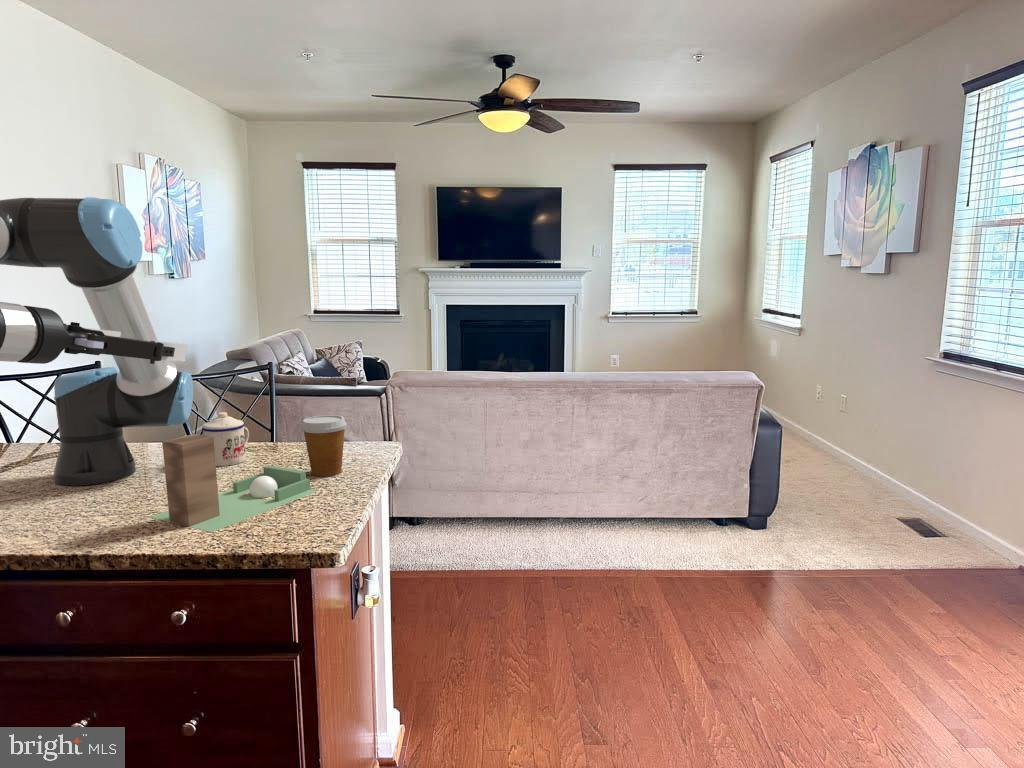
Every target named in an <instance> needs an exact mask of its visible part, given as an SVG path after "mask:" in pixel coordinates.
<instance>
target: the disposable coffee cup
mask: <svg viewBox="0 0 1024 768" xmlns="http://www.w3.org/2000/svg"><path fill="white" fill-rule="evenodd" d="M346 427H347V421H346V420H345V417H344V416H342V415H337V414H336V415H335V414H330V415H329V414H328V415H315V416H310V417H306V418H304V419H303V420H302V425H301V427H300V428H301V429H302V431H303V436H304V439H305V446H306V450H307V455H308V461H309V465H310V472H311V475H312V474H313V475H312V476H314V475H315V477H318V476H326V477H333V476H337V475H340V474H341V473H342V469H343V468H342V467H343V455H344V454H343V453H344V444H345V443H344V442H345V431H346V430H345V429H346ZM340 472H341V473H340ZM336 474H337V475H336ZM332 475H333V476H332Z"/></svg>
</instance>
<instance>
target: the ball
mask: <svg viewBox="0 0 1024 768" xmlns="http://www.w3.org/2000/svg"><path fill="white" fill-rule="evenodd" d="M276 489H279V487H278V486H277V483H276V481H275V480H274V479H273V478H271V477H269V476H260V477H257V478H256V479H255V480H254V481H253V482H252V483H251V485H250V492H249V494H250V497H253V498H258V499H264V498H272V497H273V496H274V497H275V494H274V490H276Z"/></svg>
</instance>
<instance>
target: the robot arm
mask: <svg viewBox="0 0 1024 768" xmlns="http://www.w3.org/2000/svg"><path fill="white" fill-rule="evenodd" d="M139 228H140V227H139V225H138V223H137V220H136V219H135V217H134V216H133V214H132V213H131V211H130V209H128V208H127V207H126V205H124V204H123V203H121V202H120V201H117V200H116V199H109V198H98V197H95V196H89V197H85V198H78V197H77V198H74V197H73V198H68V197H65V198H64V197H57V198H56V197H36V198H35V197H18V198H7V199H0V265H1V266H3V265H5V266H15V267H16V266H17V267H25V268H26V267H27V268H28V267H29V268H59V269H61V270H62V272H63V274H64V276H65V279H66V281H68V282H69V284H71V285H73V286H74V287H77V288H80V289H81V290H82V292H83V294H84V297H85V299H86V301H87V303H88V305H89V307H90V310H91V312H92V314H93V316H94V318H95V320H96V323H97V325H98V327H99V329H98V328H91V327H83V326H80V325H81V324H80V322H74V321H70V324H67V323H64V321H63V319H62V318H61V316H60V314H58V313H57V312H56V311H55V310H53V309H50V308H47V307H46V308H45V307H40V306H39V307H38V306H31V305H22V304H19V303H11V302H3V301H0V362H10V363H11V362H14V363H15V362H17V363H22V364H38V365H39V364H41V365H42V364H44V365H45V364H49V363H51V362H54V361H55V360H56V359H57V358H58V357H59V356H60V355H61V353H62V352H64V354H69V355H79V354H85V355H93V356H100V355H106V356H107V355H108V356H112V357H113V360H114V362H115V364H116V367H115V366H110V367H109V366H108V367H100V368H93V369H88V370H87V369H85V370H82V371H78V372H72V373H67V374H63V375H60V376H59V377H57V378H56V379H55V381H54V384H53V385H54V398H53V399H54V403H55V411H56V418H57V425H58V433H59V441H60V443H59V444H60V447H59V450H58V454H57V458H56V463H55V466H54V470H53V477H54V482H55V483H56V484H57V485H62V486H90V485H97V484H103V483H109V482H114V481H117V480H120V479H124V478H126V477H129V476H132V475H133V474H134V473H136V471H137V468H136V467H137V466H136V460H135V458H134V457H133V453H132V452H131V450H130V449H129V446H128V444H127V442H126V440H125V438H124V431H123V428H148V427H149V428H151V427H152V428H153V427H154V428H156V427H171V426H178V425H179V426H181V425H184V424H185V423H186V422H187V421H188V420H189V418H190V415H191V412H192V408H193V401H194V381H193V376H192V375H191V373H190V372H188V371H184V370H181V371H179V370H178V368H177V366H176V364H175V362H186V356H187V350H188V343H179V342H169V341H161V340H158V338H157V336H156V333H155V331H154V327H153V325H152V323H151V320H150V318H149V314H148V312H147V310H146V307H145V304H144V302H143V299H142V297H141V294H140V292H139V288H138V286H137V283H136V281H135V278H134V277H133V275H134V274H135V272H136V270H137V268H138V264H139V263H140V262H141V260H142V257H143V241H142V240H141V235H142V234H141V231H140V229H139ZM173 361H174V362H173ZM117 368H118V370H117Z"/></svg>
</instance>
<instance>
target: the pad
mask: <svg viewBox="0 0 1024 768" xmlns="http://www.w3.org/2000/svg"><path fill="white" fill-rule="evenodd" d="M262 468H263V472H261V473H257V474H255V475H252V476H249V477H246V478H242V479H239V480H236V481H234V482H232V487H233V488H231V489H228V490H226V491H222V492H220V493H219V492H218V499H219V511H220V516H217V517H215V518H212V519H209V520H206V521H204V522H201V523H198V524H196V525H193V526H190V527H188V526H186V527H188V528H193V529H197V530H201V531H205V532H209V533H215V532H217V531H219V530H221V529H225V528H227V527H229V526H232V525H235V524H237V523H240V522H242V521H245V520H247V519H250V518H253V517H255V516H257V515H260V514H264V513H266V512H269V511H270V510H273V509H276V508H277V507H280V506H281V507H282V506H283V505H286V504H289V503H291V502H293V501H296V500H298V499H299V500H300V499H302V498H304V497H306V496H309V495H312V494H314V493H317V492H318V490H317V489H316V490H315V489H311V479H309V478H307V473H306V471H305V470H300V469H295V468H287V467H281V466H275V465H265V466H263V467H262ZM260 476H269V477H271V478H273V479H274V480H275V481H276V483H277V486H278V489H276V490H274V494H275V495H274V497H273V498H272V497H271V498H269V499H264V498H254V497H252V496H249V495H248V496H247V495H246V494H250V485H251V483H252V482H253V481H254V480H255V479H256V478H257V477H260ZM149 518H152V519H156V520H159V521H164V522H167V523H172V522H170V519H169V510H165V511H163V512H160V513H158V514H157V513H156V514H154V515H151V516H149ZM172 524H173V523H172ZM174 524H175V525H177V524H176V523H174ZM178 525H180V524H178ZM180 526H181V525H180ZM182 526H184V525H182ZM184 527H185V526H184Z"/></svg>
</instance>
